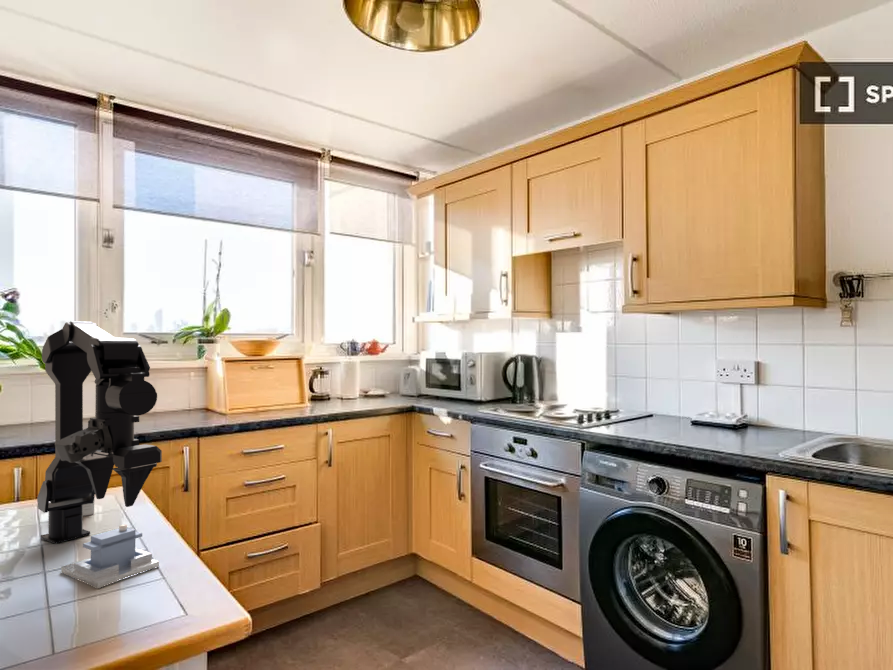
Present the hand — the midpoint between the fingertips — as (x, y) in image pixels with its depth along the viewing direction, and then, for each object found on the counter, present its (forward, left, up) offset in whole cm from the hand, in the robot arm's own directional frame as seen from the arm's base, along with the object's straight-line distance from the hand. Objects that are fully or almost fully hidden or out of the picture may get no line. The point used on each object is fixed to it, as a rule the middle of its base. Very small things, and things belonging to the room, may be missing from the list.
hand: (114, 502), depth 94 cm
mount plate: (-1, 0, -12) cm, 12 cm away
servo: (0, 0, -11) cm, 11 cm away
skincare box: (-40, +13, -12) cm, 44 cm away
